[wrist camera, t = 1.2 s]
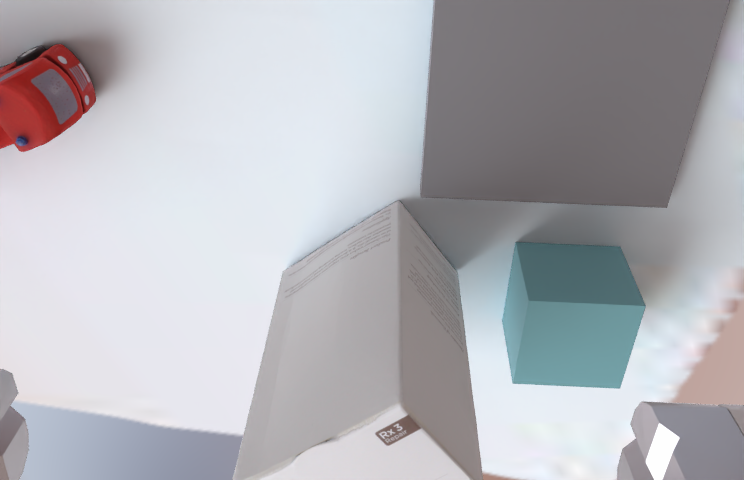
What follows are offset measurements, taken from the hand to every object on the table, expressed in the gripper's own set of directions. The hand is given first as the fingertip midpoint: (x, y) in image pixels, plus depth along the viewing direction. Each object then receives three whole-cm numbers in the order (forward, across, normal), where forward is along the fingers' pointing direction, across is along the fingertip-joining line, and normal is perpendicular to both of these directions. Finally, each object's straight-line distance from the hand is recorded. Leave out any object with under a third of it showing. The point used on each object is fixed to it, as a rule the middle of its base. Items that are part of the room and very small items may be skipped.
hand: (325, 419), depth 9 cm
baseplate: (+25, -9, +2) cm, 27 cm away
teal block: (+26, -11, +14) cm, 32 cm away
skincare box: (+26, -1, +14) cm, 30 cm away
